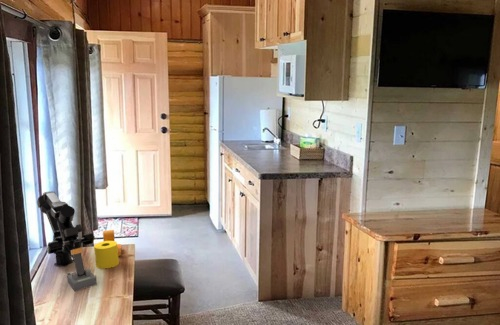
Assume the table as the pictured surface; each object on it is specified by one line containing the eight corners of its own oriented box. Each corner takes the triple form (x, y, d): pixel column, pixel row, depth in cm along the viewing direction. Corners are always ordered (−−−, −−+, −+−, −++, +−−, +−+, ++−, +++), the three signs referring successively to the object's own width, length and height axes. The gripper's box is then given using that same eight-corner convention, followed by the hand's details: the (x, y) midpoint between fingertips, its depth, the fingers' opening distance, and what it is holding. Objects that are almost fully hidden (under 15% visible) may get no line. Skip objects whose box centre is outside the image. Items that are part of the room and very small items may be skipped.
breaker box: (67, 282, 190) (66, 271, 189) (89, 276, 195) (88, 265, 194) (74, 291, 182) (72, 279, 181) (96, 284, 187) (95, 272, 186)
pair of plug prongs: (67, 276, 196) (67, 273, 196) (80, 272, 199) (80, 269, 199) (72, 281, 190) (72, 279, 190) (85, 278, 193) (85, 275, 193)
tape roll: (117, 267, 203) (115, 247, 201) (94, 269, 202) (92, 249, 200) (120, 258, 213) (118, 239, 211) (98, 260, 211) (96, 241, 210)
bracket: (120, 257, 215) (118, 233, 213) (105, 259, 213) (102, 235, 211) (121, 249, 225) (119, 226, 223) (106, 251, 223) (103, 227, 221)
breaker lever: (76, 277, 187) (70, 250, 188) (85, 274, 189) (80, 247, 190) (77, 277, 185) (71, 250, 187) (86, 274, 188) (81, 247, 189)
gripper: (45, 224, 186) (54, 257, 179) (90, 214, 197) (101, 245, 190) (43, 237, 194) (52, 269, 187) (87, 227, 205) (97, 258, 198)
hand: (76, 260), depth 190 cm, fingers closed
